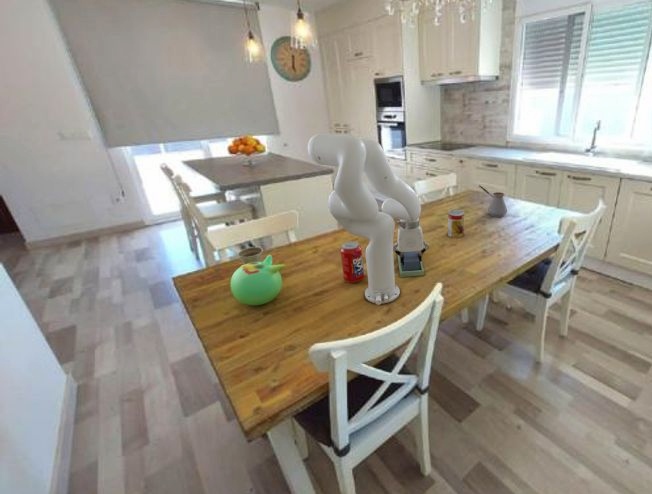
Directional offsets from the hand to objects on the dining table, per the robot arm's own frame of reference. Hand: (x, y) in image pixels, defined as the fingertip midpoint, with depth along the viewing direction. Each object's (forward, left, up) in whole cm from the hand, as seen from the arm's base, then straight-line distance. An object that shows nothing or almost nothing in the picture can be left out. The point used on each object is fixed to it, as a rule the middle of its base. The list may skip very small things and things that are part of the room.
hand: (411, 263), depth 133 cm
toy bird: (-14, +55, -3) cm, 57 cm away
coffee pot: (+60, -54, -3) cm, 80 cm away
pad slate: (0, 0, -1) cm, 1 cm away
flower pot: (+8, +65, -3) cm, 66 cm away
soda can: (-5, +23, -3) cm, 24 cm away
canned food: (+31, -26, -3) cm, 40 cm away
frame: (+5, 0, -2) cm, 5 cm away
